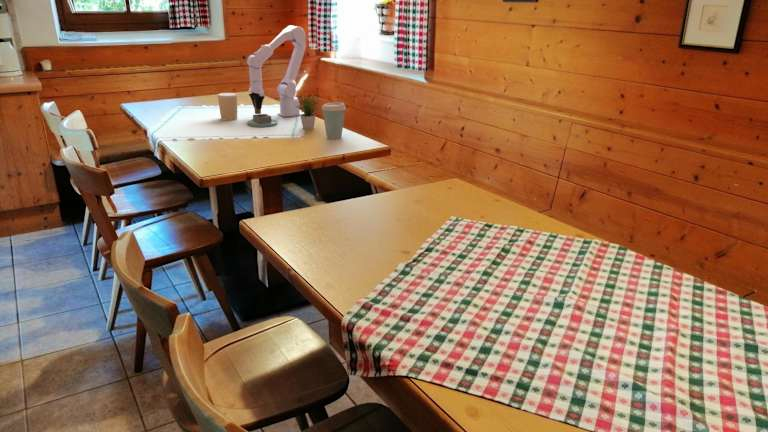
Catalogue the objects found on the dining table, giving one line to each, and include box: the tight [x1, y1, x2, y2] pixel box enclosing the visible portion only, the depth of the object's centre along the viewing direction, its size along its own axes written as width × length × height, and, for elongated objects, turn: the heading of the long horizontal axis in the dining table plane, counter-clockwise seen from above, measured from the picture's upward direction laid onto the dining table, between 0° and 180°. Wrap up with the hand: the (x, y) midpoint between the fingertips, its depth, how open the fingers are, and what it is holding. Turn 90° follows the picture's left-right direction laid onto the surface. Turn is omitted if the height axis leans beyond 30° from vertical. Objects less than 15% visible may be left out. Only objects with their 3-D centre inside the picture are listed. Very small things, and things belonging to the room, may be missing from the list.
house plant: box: [295, 94, 323, 131], centre depth 260 cm, size 14×14×16 cm
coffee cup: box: [217, 92, 238, 121], centre depth 276 cm, size 9×9×12 cm
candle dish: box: [247, 113, 278, 128], centre depth 269 cm, size 14×14×4 cm
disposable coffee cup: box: [321, 101, 347, 140], centre depth 247 cm, size 11×11×15 cm
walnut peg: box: [253, 100, 262, 115], centre depth 279 cm, size 3×3×8 cm
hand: (257, 108), depth 280 cm, fingers closed on walnut peg, 3 cm apart
